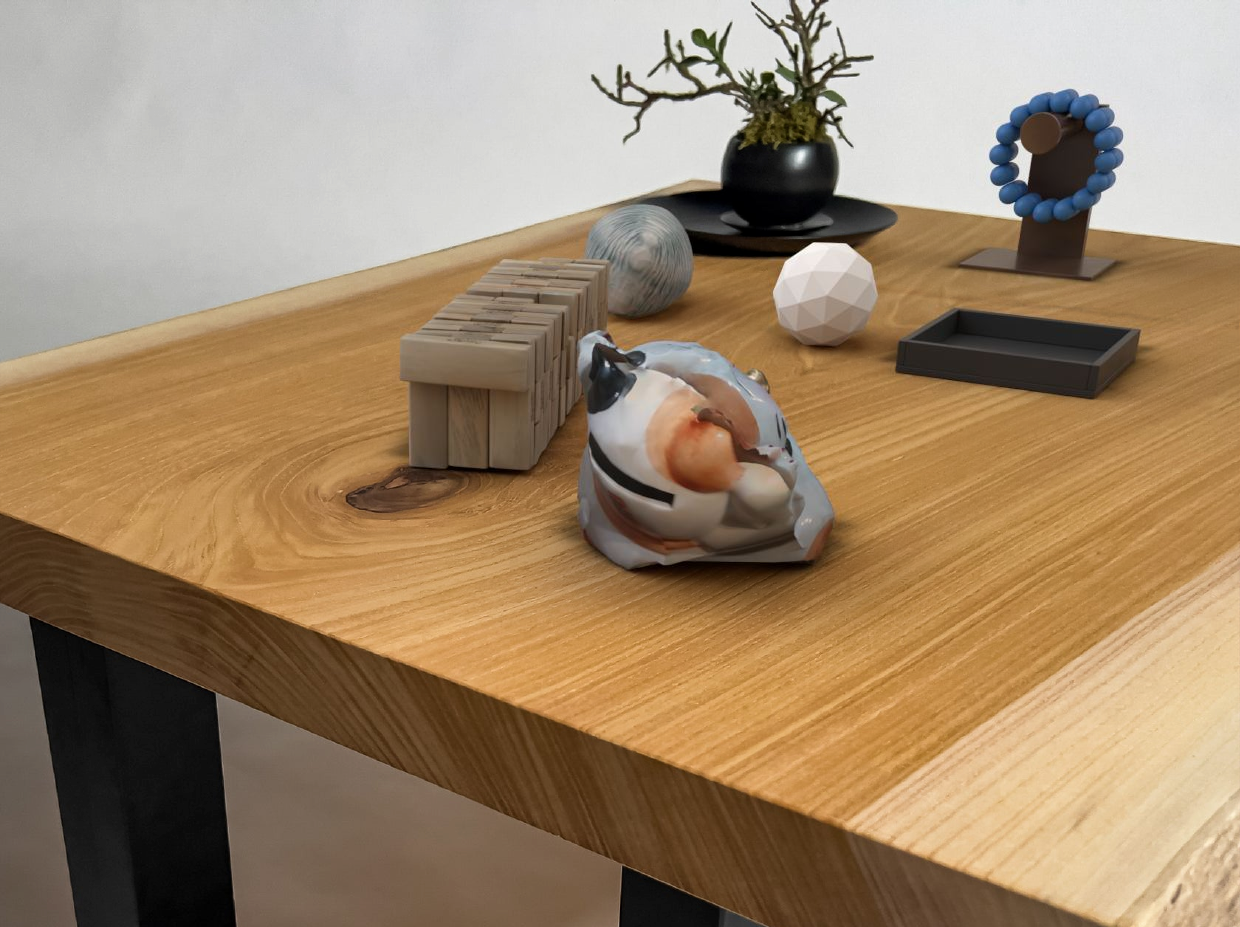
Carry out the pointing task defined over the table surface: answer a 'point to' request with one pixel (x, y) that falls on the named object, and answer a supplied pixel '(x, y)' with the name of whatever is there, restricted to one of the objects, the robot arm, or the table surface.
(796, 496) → the lucky cat figurine
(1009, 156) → the blue beaded bracelet
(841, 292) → the geometric ball
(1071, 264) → the bracelet rack
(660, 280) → the grey streaked rounded piece
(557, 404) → the block tower
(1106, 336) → the tray
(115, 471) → the table surface
